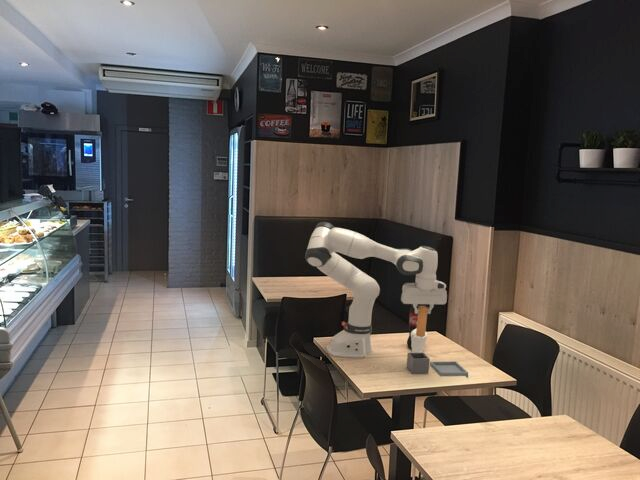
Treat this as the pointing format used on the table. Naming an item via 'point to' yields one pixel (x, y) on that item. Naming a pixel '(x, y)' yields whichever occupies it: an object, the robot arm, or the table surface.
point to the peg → (421, 321)
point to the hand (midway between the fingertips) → (422, 313)
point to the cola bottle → (412, 323)
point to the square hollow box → (418, 363)
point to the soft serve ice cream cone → (417, 342)
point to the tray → (449, 368)
